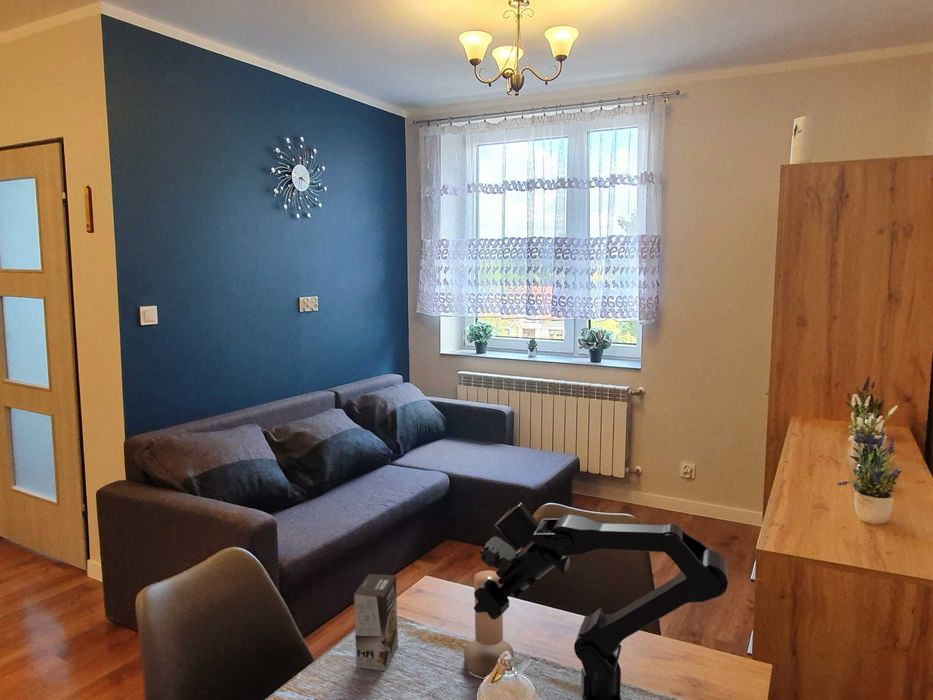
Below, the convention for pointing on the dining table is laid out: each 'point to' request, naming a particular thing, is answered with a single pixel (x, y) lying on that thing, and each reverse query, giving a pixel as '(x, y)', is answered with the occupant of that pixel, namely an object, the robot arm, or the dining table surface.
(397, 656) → the dining table surface
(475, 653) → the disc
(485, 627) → the candle
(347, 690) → the dining table surface
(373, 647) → the coffee box
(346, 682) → the dining table surface
